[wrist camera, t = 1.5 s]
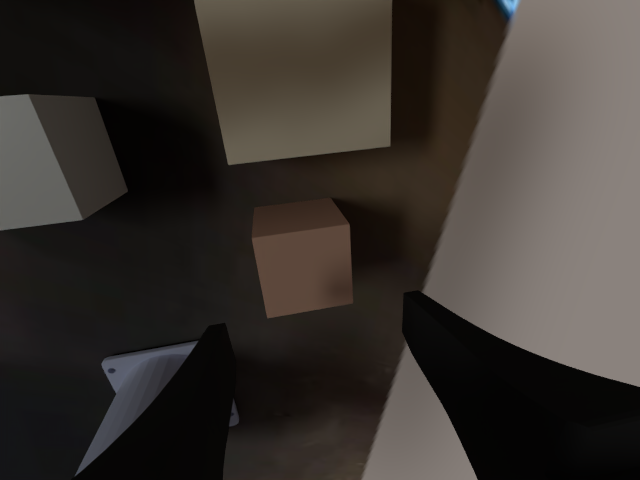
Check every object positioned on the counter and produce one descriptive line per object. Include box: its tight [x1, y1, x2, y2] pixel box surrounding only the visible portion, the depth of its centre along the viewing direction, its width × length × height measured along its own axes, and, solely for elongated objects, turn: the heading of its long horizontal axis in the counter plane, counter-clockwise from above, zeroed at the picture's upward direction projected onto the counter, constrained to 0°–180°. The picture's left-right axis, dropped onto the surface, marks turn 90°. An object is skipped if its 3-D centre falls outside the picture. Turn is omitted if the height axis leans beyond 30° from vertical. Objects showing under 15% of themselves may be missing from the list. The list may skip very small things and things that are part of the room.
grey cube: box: [0, 94, 128, 230], centre depth 14 cm, size 5×5×5 cm
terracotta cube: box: [252, 198, 353, 318], centre depth 19 cm, size 5×5×5 cm
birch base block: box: [194, 0, 392, 165], centre depth 15 cm, size 8×8×4 cm
